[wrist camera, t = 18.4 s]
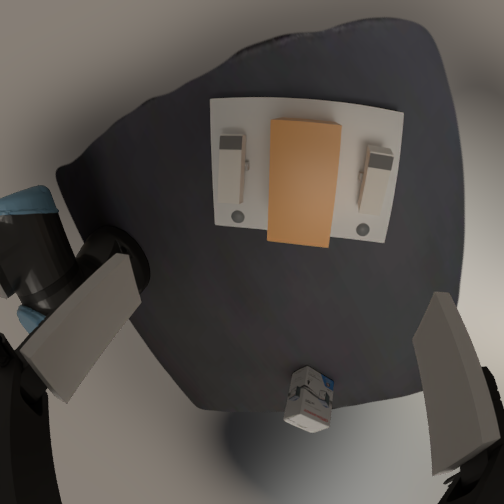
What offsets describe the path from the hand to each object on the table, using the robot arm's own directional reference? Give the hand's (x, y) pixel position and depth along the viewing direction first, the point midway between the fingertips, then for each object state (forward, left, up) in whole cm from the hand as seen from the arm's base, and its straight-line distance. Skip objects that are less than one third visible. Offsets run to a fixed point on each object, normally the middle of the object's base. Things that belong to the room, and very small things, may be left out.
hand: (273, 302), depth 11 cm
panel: (0, 0, -27) cm, 27 cm away
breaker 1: (-8, 0, -22) cm, 23 cm away
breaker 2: (+8, 0, -22) cm, 23 cm away
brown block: (0, 0, -24) cm, 24 cm away
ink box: (+6, -43, -27) cm, 51 cm away
